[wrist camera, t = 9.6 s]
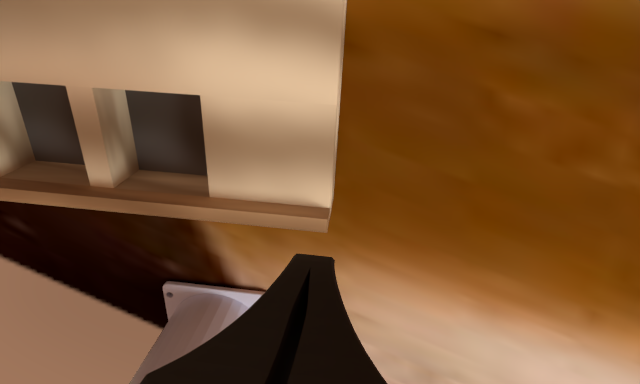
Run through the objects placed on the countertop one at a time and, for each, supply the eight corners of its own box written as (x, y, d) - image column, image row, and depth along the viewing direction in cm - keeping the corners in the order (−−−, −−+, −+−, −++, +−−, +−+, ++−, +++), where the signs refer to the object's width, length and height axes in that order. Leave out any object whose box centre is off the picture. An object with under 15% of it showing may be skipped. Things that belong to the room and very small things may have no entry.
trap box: (333, 196, 24) (327, 232, 20) (-51, 161, 26) (-122, 188, 22) (352, -77, 17) (347, -99, 14) (-157, -93, 19) (-282, -117, 16)
